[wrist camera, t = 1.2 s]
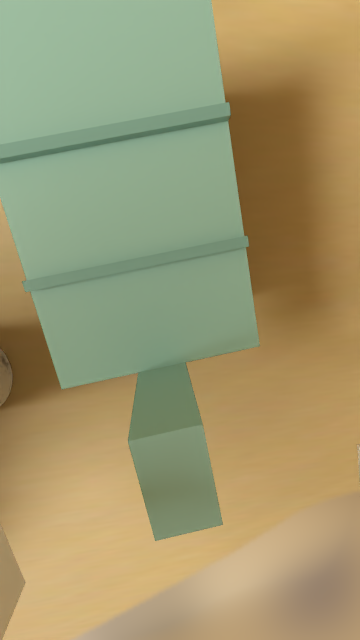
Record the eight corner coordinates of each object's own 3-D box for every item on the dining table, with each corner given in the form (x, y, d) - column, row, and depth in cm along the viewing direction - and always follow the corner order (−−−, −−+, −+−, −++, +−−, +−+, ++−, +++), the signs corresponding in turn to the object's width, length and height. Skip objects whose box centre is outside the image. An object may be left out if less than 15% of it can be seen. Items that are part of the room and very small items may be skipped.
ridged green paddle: (87, 446, 20) (44, 567, 12) (-44, 26, 14) (-279, -245, 7) (263, 406, 20) (329, 499, 13) (201, -15, 15) (252, -316, 7)
